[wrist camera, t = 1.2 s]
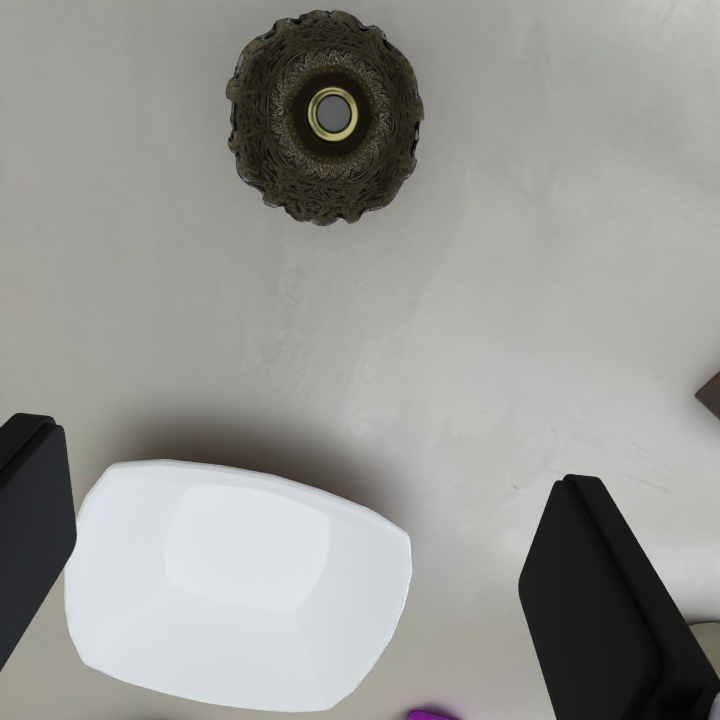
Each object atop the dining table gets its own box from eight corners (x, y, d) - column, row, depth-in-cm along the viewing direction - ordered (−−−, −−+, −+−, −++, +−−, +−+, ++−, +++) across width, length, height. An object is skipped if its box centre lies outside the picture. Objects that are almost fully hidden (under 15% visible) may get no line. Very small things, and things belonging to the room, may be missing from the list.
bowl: (114, 383, 35) (76, 431, 30) (440, 467, 38) (451, 522, 33) (84, 612, 44) (52, 675, 39) (347, 665, 47) (346, 730, 42)
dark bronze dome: (265, 14, 26) (227, -10, 19) (420, 41, 26) (442, 28, 19) (254, 179, 29) (219, 212, 22) (393, 200, 30) (403, 239, 23)
